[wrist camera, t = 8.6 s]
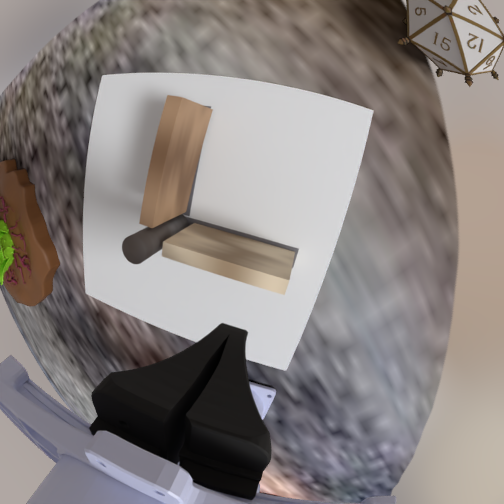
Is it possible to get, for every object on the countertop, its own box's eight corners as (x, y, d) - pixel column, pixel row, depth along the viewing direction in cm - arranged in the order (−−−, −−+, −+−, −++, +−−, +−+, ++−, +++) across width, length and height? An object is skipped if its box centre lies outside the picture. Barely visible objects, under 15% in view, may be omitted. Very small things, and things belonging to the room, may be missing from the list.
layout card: (286, 368, 25) (286, 371, 24) (87, 292, 27) (85, 293, 27) (372, 111, 16) (373, 110, 16) (104, 75, 19) (102, 75, 18)
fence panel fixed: (167, 232, 22) (121, 259, 16) (170, 211, 21) (122, 232, 15) (290, 268, 21) (279, 313, 15) (296, 246, 20) (289, 285, 14)
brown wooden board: (186, 211, 21) (152, 228, 16) (174, 207, 21) (139, 223, 16) (212, 109, 18) (182, 97, 13) (200, 107, 18) (167, 95, 13)
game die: (409, 39, 16) (423, -49, 6) (490, 91, 13) (525, 7, 3) (365, 67, 14) (376, -59, 5) (472, 137, 12) (532, 17, 2)
